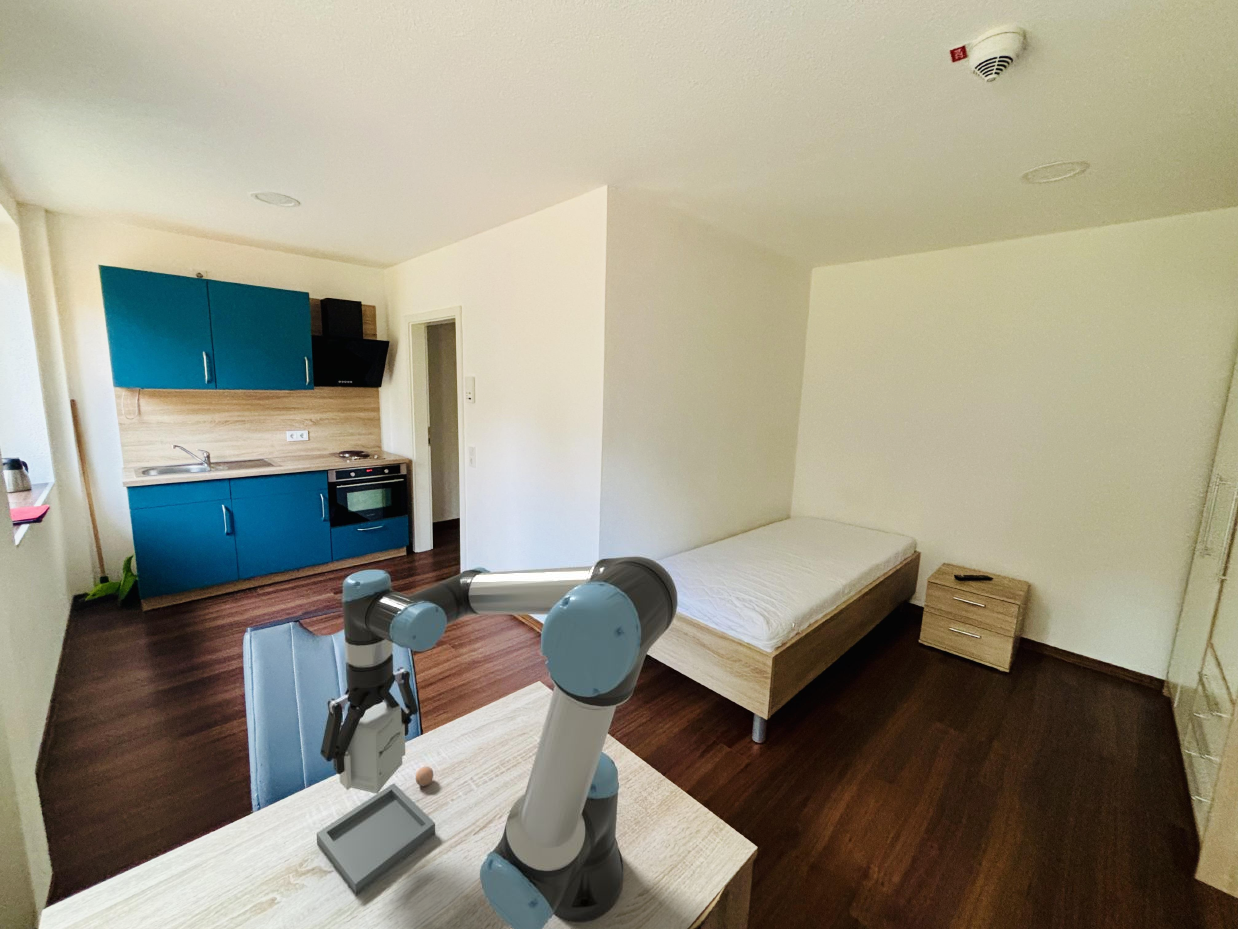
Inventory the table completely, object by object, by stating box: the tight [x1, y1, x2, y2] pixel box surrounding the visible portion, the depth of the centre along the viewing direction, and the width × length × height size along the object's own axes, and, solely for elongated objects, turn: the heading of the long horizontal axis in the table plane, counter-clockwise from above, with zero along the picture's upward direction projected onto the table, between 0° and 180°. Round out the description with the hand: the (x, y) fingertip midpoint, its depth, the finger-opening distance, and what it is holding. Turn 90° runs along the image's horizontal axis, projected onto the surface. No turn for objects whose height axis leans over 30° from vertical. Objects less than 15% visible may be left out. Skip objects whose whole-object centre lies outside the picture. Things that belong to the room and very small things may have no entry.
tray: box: [316, 782, 436, 897], centre depth 93 cm, size 15×15×2 cm
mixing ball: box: [415, 765, 434, 787], centre depth 106 cm, size 4×4×4 cm
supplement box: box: [340, 701, 403, 794], centre depth 90 cm, size 7×7×13 cm
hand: (373, 767), depth 91 cm, fingers closed on supplement box, 9 cm apart
